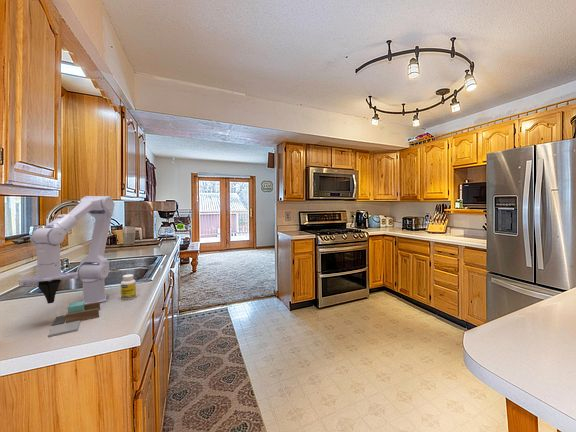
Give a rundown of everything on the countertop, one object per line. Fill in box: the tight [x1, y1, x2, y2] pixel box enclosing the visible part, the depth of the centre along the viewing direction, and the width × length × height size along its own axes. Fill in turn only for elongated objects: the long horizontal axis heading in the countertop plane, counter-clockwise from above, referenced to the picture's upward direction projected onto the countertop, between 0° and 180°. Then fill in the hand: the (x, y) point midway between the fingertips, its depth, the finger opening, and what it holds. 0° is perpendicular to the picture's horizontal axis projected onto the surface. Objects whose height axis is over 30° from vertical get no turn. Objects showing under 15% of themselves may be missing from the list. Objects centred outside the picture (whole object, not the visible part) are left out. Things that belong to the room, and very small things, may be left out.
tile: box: [47, 320, 81, 338], centre depth 81 cm, size 7×7×1 cm
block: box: [67, 301, 84, 314], centre depth 89 cm, size 4×4×5 cm
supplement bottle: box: [120, 273, 137, 301], centre depth 108 cm, size 5×5×10 cm
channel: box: [64, 302, 101, 323], centre depth 91 cm, size 8×9×3 cm
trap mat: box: [51, 314, 66, 327], centre depth 87 cm, size 7×3×1 cm, turn 34°
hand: (51, 302), depth 86 cm, fingers closed
